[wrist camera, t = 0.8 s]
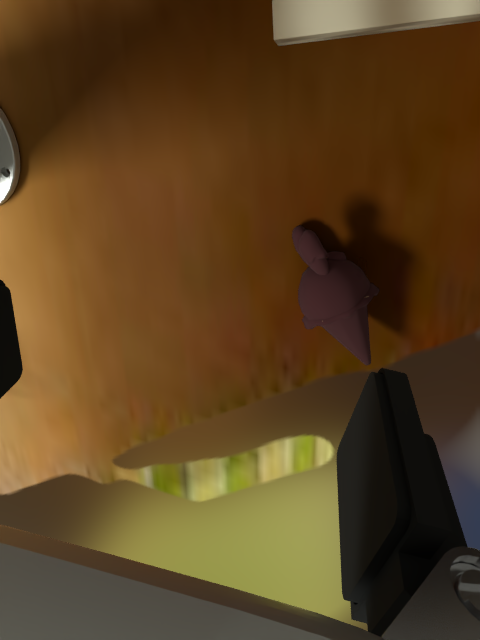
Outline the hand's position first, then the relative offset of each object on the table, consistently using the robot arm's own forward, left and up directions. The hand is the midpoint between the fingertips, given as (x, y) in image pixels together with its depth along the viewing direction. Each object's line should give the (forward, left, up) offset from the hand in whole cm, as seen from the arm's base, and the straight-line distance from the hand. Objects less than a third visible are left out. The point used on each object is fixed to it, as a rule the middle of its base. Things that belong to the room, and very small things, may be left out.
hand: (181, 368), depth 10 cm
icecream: (+11, -7, -29) cm, 32 cm away
